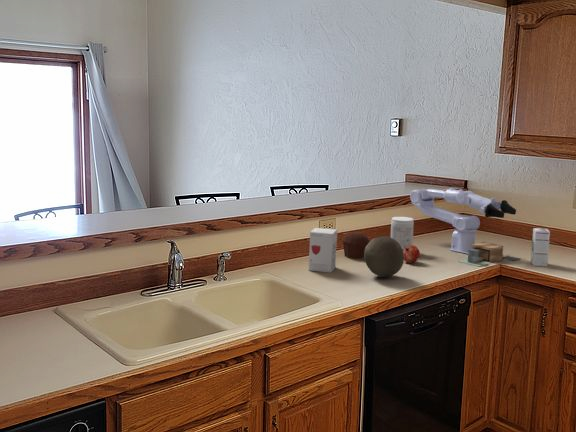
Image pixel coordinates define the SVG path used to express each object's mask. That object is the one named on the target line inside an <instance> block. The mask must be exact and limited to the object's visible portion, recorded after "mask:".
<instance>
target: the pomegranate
mask: <svg viewBox="0 0 576 432" xmlns="http://www.w3.org/2000/svg"><path fill="white" fill-rule="evenodd" d="M403 253H404V262H406V263H408V264H413V265H414V264H416V263H417V262H419V260H418V259H420V258H421V252H420V250H419V248H418V247H417V246H416V245H413V244H412V245H409V246H408V247H405V248H404V250H403Z"/></svg>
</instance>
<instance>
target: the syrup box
mask: <svg viewBox="0 0 576 432" xmlns="http://www.w3.org/2000/svg"><path fill="white" fill-rule="evenodd" d="M550 236H551V231H550V230H549V229H548V228H543V227H542V228H541V227H540V228H539V227H536V228H535V227H533V229H532V239H531V249H530V250H531V251H530V261H529V262H530V264H531V265H532V266H536V267H548V262H549V261H548V260H549V251H550V250H549V249H550V238H551V237H550Z"/></svg>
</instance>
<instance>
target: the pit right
mask: <svg viewBox="0 0 576 432" xmlns="http://www.w3.org/2000/svg"><path fill="white" fill-rule="evenodd" d="M502 260H507V261H512V262H515V261H519V260H522V258H519V257H516V256H511V255H505V256H502Z"/></svg>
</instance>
